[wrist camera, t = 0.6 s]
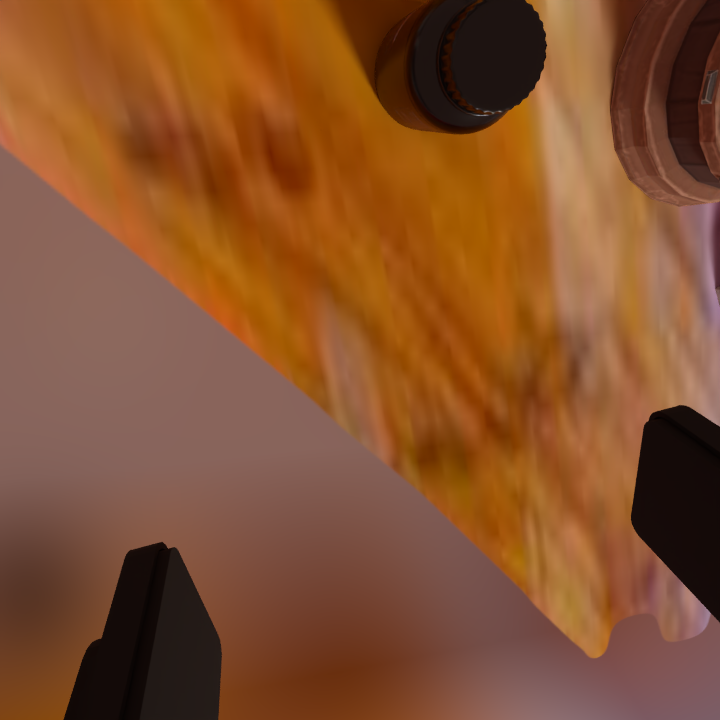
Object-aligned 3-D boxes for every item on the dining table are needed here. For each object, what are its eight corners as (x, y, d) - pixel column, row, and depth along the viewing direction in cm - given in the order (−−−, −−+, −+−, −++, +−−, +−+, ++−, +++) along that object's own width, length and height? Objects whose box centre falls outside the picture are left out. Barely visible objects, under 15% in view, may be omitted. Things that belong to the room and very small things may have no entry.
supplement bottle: (386, -2, 30) (457, -67, 20) (482, 32, 32) (594, -12, 22) (361, 117, 33) (412, 116, 23) (451, 142, 35) (538, 151, 24)
